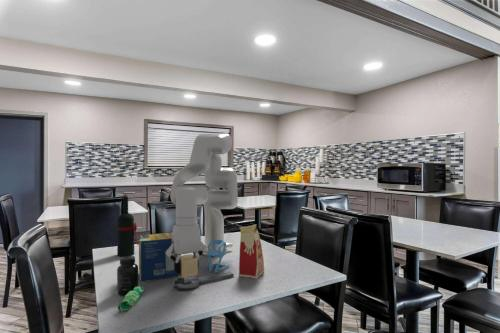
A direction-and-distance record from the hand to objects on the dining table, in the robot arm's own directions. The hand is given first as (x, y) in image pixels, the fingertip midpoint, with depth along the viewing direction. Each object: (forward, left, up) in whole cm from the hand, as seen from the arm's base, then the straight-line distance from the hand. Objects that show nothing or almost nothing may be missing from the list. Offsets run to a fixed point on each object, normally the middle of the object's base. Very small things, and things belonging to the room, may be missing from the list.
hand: (186, 270), depth 108 cm
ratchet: (-7, 0, -5) cm, 9 cm away
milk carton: (-26, +2, -6) cm, 27 cm away
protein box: (+5, -17, -6) cm, 19 cm away
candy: (+19, +3, -6) cm, 21 cm away
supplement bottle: (+19, -6, -6) cm, 21 cm away
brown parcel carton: (0, 0, -1) cm, 1 cm away
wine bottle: (+10, -54, -6) cm, 55 cm away
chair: (-17, -10, -6) cm, 21 cm away
